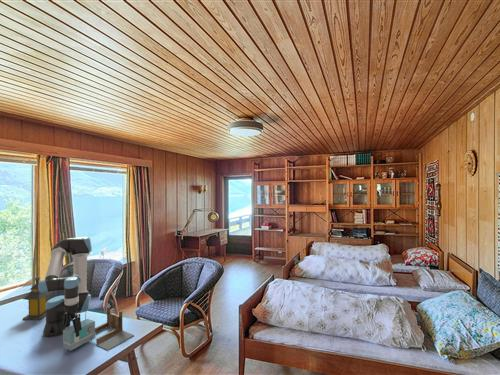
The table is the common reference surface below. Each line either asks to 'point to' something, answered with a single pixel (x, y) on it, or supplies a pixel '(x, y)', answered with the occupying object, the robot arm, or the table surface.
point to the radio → (84, 334)
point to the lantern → (36, 303)
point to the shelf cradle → (110, 325)
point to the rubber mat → (114, 340)
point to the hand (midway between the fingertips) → (72, 339)
